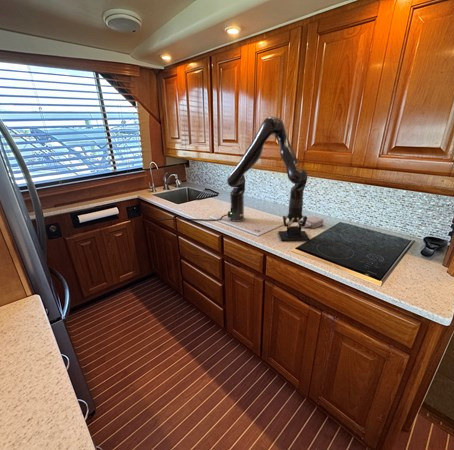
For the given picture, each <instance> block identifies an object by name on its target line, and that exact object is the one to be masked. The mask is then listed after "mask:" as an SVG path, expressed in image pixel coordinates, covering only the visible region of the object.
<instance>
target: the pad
mask: <svg viewBox="0 0 454 450" xmlns="http://www.w3.org/2000/svg"><path fill="white" fill-rule="evenodd" d="M298 226H299V225H290V231H289V235H299V233H300V229H299V228H298Z"/></svg>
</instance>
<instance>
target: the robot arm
mask: <svg viewBox="0 0 454 450" xmlns="http://www.w3.org/2000/svg"><path fill="white" fill-rule="evenodd" d="M271 136H274V138H275V139H276V140H277V142H278V146H279V153H280V154H279V155H280V157H281V161H282V162H283V164H284V166H285V170H286V174H287V178H288V180H289V181H290V183H291V184H294V185H293V186H292V187H291V188H290V192H289V200H288V213H287V215H283V216H282V221H283V226H284V227H285V228H286V231H287V232H288V233H289V231H290V226H292V224H294V223H296V224H298V225H297V226H298V228H299V229H300V232H301V231H302V228H303V227H305V224H306V220H307V217H308V216H306V215H303V208H304V207H303V206H304V190H305V188H306V185H307V182H308V172H307V171H306V169H304V168H299V169H297V166H298V164H299V160H298V158H297V156H296V154H295V152H294V150H293V147H292V145H291V143H290V139H289V137H288V134H287V130H286V127H285V124H284V121H283V120H282V119H281V118H279V117H274V116H267V117H266V118H265V119H264V120H263V121H262V123H261V125H260V127H259V129H258V131H257V132H256V134H255V136H254V138H253V140H252V141H251V143H250V145H249V146H248V147H247V149H246V151H245V152H244V153H243V155H242V156H241V158H240V160H239V161H238V163H237V165H236V166H235V167H234V169H232V170H231V172H230V173H229V174H228V176H227V179H226V181H227V185H228V186H229V187H230V188H233V189H232V190H231V191H230V193H229V197H230V211H229V210H228V211H227V213H226V214H224V215H222V216H221V217H220V218H217V219H213V218H212V219H209V218H208V219H207V218H206V219H203V218H185V217H184V218H183V217H182V218H178V217H177V218H175V217H174V218H160V219H158V221H160V222H161V221H172V220H176V221H177V220H185V221H186V220H187V221H188V220H189V221H206V222H207V221H210V222H211V221H213V222H215V221H221V220H222V219H223V218H224V217H227V219H230V221H231V222H243V221H244V220H245V204H244V203H245V201H244V200H245V192H246V176H245V174H246V173H247V172H248V171H249V170H251V169H252V168H253V167H254V166H255V165H256V164H257V163H258V161H259V160H260V158H261V156H262V155H263V150H264V146H265V144H266V142H267V140H268V139H269V138H270V137H271ZM287 220H288V221H287ZM301 220H302V222H301Z"/></svg>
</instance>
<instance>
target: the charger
mask: <svg viewBox="0 0 454 450" xmlns="http://www.w3.org/2000/svg"><path fill="white" fill-rule="evenodd" d="M306 217H307V220H306V224H305V226H304V227H305V228H308V227H309V228H311V229H316V228H318V227H321V226H323V225H324V218H323V217H319V216H316V215H310V216H306Z"/></svg>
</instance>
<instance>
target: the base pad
mask: <svg viewBox="0 0 454 450" xmlns="http://www.w3.org/2000/svg"><path fill="white" fill-rule="evenodd" d="M278 236H279V238H280V241H281V242H310V241H311V239H310V237H309V235H308V234H307V232H306V231H305V230H301V232H300V233H299V235H289V233H288V232H287V230H278Z"/></svg>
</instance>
